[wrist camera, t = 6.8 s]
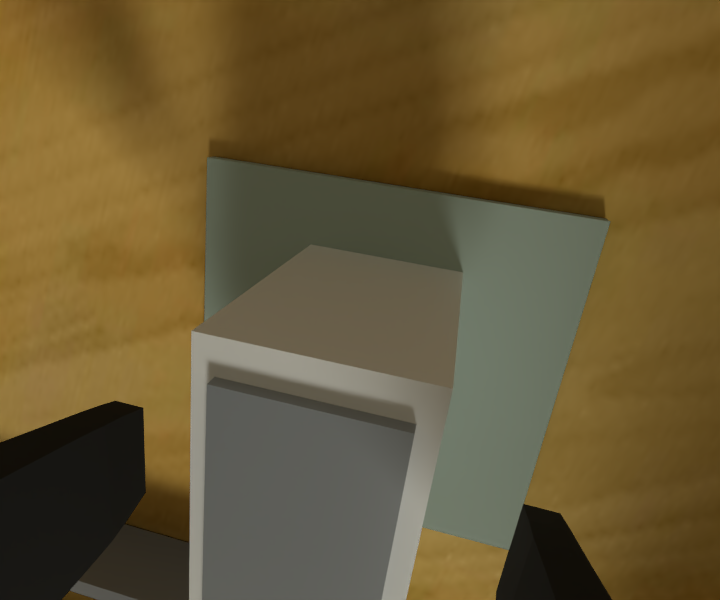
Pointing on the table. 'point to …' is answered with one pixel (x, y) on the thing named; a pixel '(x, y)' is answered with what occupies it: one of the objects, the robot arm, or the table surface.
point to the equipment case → (138, 568)
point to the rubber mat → (477, 308)
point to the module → (319, 428)
